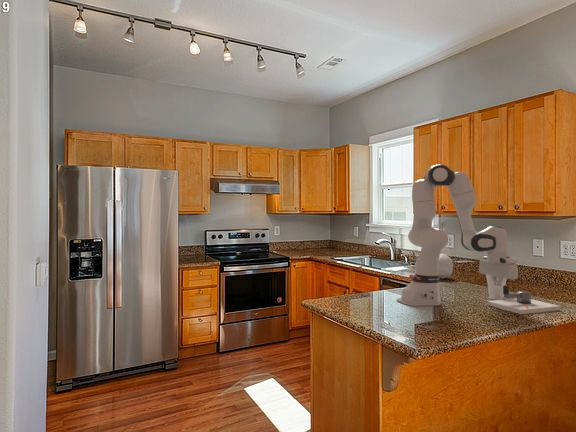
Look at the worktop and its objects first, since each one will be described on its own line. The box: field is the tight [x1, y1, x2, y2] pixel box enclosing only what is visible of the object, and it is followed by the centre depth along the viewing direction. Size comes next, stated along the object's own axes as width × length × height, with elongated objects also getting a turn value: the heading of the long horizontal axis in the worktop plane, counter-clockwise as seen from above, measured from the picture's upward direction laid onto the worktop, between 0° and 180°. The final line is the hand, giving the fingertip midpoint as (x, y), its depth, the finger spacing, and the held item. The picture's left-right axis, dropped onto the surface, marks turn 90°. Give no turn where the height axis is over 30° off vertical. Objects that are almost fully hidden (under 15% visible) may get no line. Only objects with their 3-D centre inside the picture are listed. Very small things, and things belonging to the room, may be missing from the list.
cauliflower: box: [414, 253, 454, 280], centre depth 265 cm, size 20×25×22 cm
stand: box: [486, 298, 561, 315], centre depth 180 cm, size 26×18×2 cm
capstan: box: [503, 284, 532, 304], centre depth 180 cm, size 16×6×9 cm, turn 109°
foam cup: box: [486, 275, 508, 301], centre depth 198 cm, size 10×9×13 cm
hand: (497, 285), depth 183 cm, fingers closed
